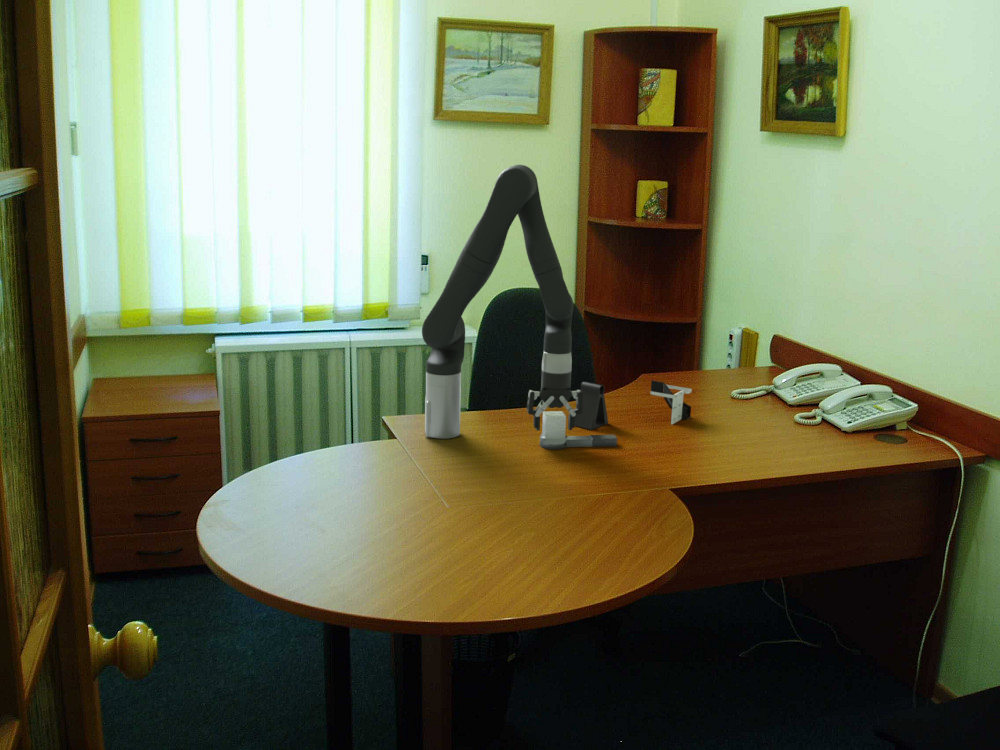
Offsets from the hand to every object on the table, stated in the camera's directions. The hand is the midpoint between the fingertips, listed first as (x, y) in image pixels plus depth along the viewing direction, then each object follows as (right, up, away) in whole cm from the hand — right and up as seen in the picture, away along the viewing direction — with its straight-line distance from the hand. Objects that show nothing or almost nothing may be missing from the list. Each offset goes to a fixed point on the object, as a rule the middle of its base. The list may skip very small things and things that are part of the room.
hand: (553, 429), depth 247 cm
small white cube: (0, -2, 0) cm, 2 cm away
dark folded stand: (+11, 0, +20) cm, 23 cm away
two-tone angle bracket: (+35, +1, +28) cm, 45 cm away
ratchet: (+6, -4, +2) cm, 8 cm away
